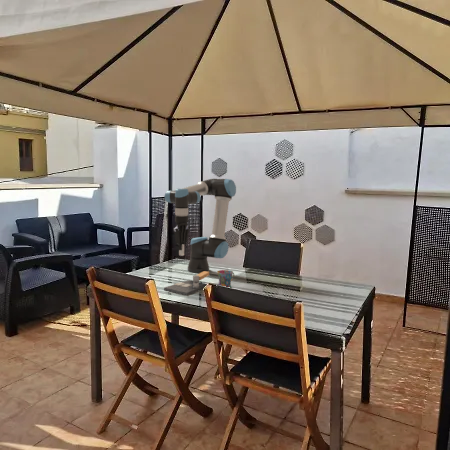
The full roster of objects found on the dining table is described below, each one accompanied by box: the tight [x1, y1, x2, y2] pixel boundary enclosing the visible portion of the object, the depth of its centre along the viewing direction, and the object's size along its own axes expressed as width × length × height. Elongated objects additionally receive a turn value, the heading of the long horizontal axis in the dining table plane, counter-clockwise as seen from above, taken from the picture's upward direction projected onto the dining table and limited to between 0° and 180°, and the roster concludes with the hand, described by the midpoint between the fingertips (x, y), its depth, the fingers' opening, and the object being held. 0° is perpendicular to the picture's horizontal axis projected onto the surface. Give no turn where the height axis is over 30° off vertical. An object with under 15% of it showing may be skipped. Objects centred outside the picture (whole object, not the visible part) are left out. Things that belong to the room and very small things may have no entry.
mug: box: [216, 269, 235, 289], centre depth 221 cm, size 12×9×11 cm
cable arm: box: [192, 271, 210, 282], centre depth 224 cm, size 4×17×3 cm, turn 160°
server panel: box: [163, 279, 208, 296], centre depth 221 cm, size 22×16×5 cm
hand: (181, 255), depth 226 cm, fingers closed
